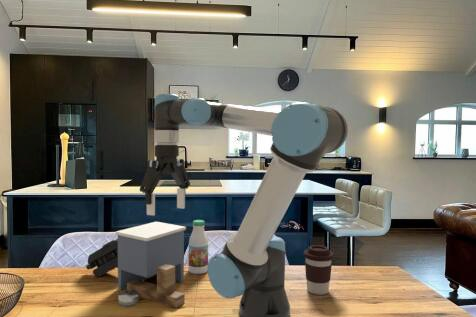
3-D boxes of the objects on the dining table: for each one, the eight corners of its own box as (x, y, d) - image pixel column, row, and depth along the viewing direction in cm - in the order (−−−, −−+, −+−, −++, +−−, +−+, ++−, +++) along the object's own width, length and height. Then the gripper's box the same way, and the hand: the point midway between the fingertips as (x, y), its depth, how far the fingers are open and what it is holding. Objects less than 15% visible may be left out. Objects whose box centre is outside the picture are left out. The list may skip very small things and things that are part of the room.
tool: (136, 273, 129) (118, 236, 130) (95, 295, 133) (77, 259, 134) (144, 267, 135) (126, 232, 136) (105, 288, 139) (87, 254, 140)
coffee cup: (308, 283, 130) (309, 242, 129) (336, 289, 125) (337, 246, 124) (298, 292, 121) (299, 249, 121) (327, 299, 116) (328, 254, 115)
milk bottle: (186, 269, 142) (186, 219, 142) (204, 266, 146) (204, 218, 145) (191, 275, 135) (192, 223, 135) (210, 272, 139) (211, 222, 138)
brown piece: (184, 303, 112) (184, 268, 112) (176, 308, 109) (176, 272, 109) (136, 287, 124) (136, 256, 124) (127, 291, 121) (126, 259, 120)
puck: (141, 299, 115) (141, 290, 115) (134, 307, 109) (133, 299, 109) (123, 298, 116) (123, 289, 115) (115, 306, 110) (115, 298, 110)
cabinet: (185, 280, 130) (185, 226, 130) (146, 299, 114) (146, 238, 113) (156, 272, 138) (156, 221, 138) (115, 289, 122) (115, 231, 121)
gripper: (183, 144, 124) (183, 204, 125) (127, 143, 103) (127, 216, 104) (200, 144, 120) (200, 206, 121) (145, 144, 99) (145, 219, 100)
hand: (166, 211), depth 113 cm, fingers open, 13 cm apart
